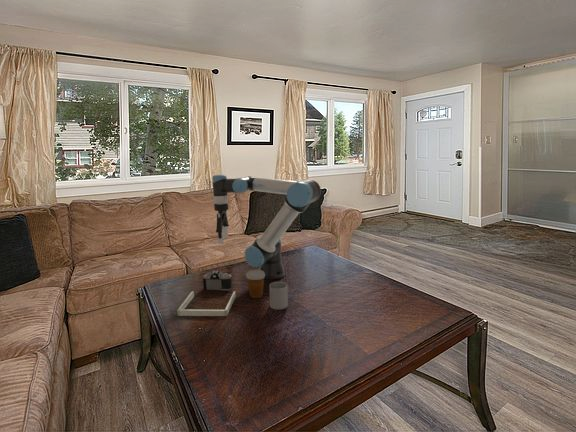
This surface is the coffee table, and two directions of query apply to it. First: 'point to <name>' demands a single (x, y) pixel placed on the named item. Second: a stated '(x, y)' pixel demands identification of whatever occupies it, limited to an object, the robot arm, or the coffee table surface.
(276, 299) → the cup
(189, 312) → the docking bay
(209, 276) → the camera
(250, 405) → the coffee table surface
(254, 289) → the disposable coffee cup
